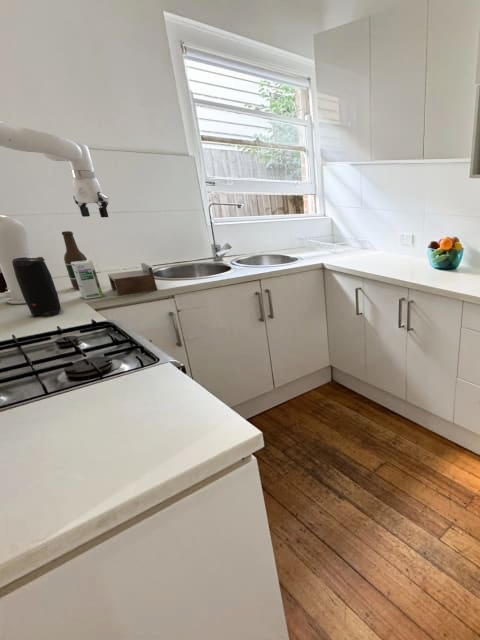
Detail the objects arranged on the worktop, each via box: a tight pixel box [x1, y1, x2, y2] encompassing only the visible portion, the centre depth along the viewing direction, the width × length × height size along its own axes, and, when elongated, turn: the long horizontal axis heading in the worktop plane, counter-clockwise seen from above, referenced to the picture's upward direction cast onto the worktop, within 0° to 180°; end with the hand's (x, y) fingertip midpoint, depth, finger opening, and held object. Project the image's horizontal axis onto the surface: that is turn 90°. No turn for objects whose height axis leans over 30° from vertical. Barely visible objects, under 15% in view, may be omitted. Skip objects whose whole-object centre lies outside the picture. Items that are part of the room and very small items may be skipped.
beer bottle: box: [61, 230, 88, 290], centre depth 164 cm, size 8×8×24 cm
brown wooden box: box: [107, 262, 158, 296], centre depth 165 cm, size 14×13×10 cm
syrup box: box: [71, 259, 104, 300], centre depth 153 cm, size 6×6×14 cm
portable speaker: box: [12, 256, 62, 318], centre depth 131 cm, size 9×9×20 cm
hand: (95, 216), depth 171 cm, fingers open, 9 cm apart
